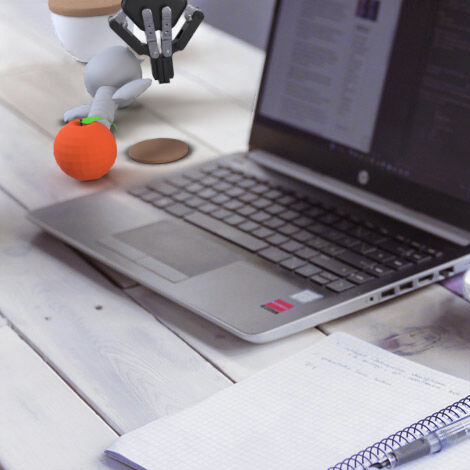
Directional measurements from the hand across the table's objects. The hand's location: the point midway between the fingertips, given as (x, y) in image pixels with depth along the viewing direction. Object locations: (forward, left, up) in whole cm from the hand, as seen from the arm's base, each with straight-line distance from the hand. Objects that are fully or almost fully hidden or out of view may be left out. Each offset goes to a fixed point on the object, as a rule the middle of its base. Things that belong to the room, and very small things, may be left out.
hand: (163, 81), depth 129 cm
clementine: (0, -25, -3) cm, 25 cm away
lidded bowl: (-17, +18, -3) cm, 25 cm away
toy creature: (-6, -5, -3) cm, 8 cm away
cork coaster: (+5, -17, -3) cm, 18 cm away
